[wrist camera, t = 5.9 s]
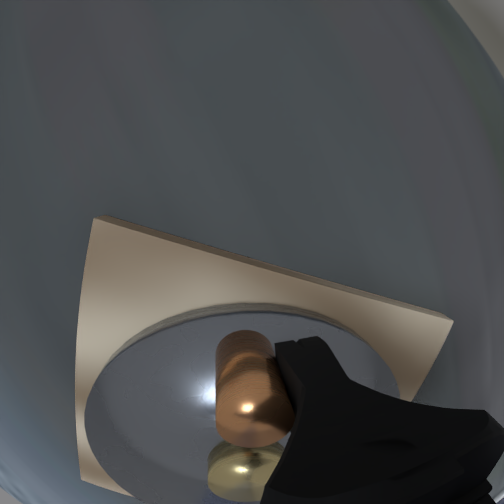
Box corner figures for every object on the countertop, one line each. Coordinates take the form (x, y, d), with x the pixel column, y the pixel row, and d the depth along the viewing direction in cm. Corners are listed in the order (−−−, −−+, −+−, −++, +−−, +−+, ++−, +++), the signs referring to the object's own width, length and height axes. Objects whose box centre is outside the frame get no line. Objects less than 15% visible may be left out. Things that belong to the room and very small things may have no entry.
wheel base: (317, 503, 17) (320, 514, 16) (85, 467, 14) (81, 479, 13) (440, 312, 14) (453, 321, 13) (105, 214, 11) (93, 218, 10)
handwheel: (438, 369, 13) (491, 417, 9) (287, 521, 15) (299, 570, 11) (160, 229, 10) (116, 263, 6) (72, 460, 12) (49, 517, 8)
